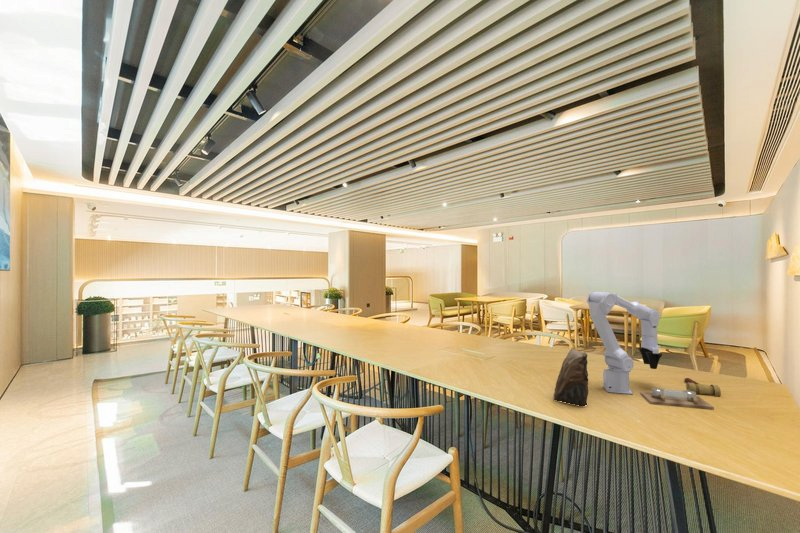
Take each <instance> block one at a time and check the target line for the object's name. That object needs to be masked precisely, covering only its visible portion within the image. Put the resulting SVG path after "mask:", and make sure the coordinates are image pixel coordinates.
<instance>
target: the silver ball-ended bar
mask: <svg viewBox="0 0 800 533" xmlns="http://www.w3.org/2000/svg"><path fill="white" fill-rule="evenodd" d="M651 393H652V397H653V398H656V399H661V395H663V396H665V399H668V400H679V401H689V402H694V398H696V396H697V393H696V392H693V391H689V390H687V389H683V390H682V389H674V388H673V389H672V388H671V389H669V388H660V387H652V388H651Z"/></svg>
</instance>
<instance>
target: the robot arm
mask: <svg viewBox="0 0 800 533" xmlns="http://www.w3.org/2000/svg"><path fill="white" fill-rule="evenodd" d="M586 302H587V304H588V307H589V308H588V309H589V316H590V319H591V321H592V323H593V326H594V327H595V329H596V331H597V334H598V336H599V338H600V340H601V342H602V344H603V346H604V348H605V350H604V352H603V355H604V361H605V362H604V363H605V364H606V365H607V368H604V369H603V371H602V373H603V374H602V375H603V377H602V378H603V382H602V383H603V388H604V389H605V391H606V392H608V393H616V394H626V395H627V394H629V395H633V394H634V393H633V391H632V390H631V388H630V372H631V371H632V370H633V368H634V365H635V364H634V360H633V358H632V357H630V356H629V354H628V352H626V350H624V349H623V348H621V345H620V344H619V342H618V340H617V338H616V337H617V336H616V335H615V333H614V331H613V329H612V327H611V324H610V322H609V321H608V318H607V315H608V314H609V313H610V312H611V311H612V309H613V308H614V306H618V307H620V308H623V309H625V310H626V312H627V313H628V314H630V315H631V316H634V317H637V319H638V320H639V321H640V325H641V326H640V327H641V328H640V329H641V331H640V332H641V342H640V344H641V346H640V347H637V349H638V351H639V353H640V354H641V358H642V362H643V364H644V365H649V368H650V369H652V370H656V369H657V368H658V366H659V365H658V364H659V363H660V362H659V361H660V360H661V357H662V356H663V353H661V352H660V351H659V350H660V349H661V348H662V347H661V345H658V326H659V321H660V319H661V315H660V312H659V311H658V310H657V309H655V308H649V306H648V305H644V304H641V301H628V300H627V299H626V298H623V297H621V296H619V295H618V294H617V293H614V292H610V291H609V292H608V291H605V292H604V291H595V290H593V291H590V292H589V294H588V296H587V299H586Z"/></svg>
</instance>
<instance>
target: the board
mask: <svg viewBox="0 0 800 533" xmlns="http://www.w3.org/2000/svg"><path fill="white" fill-rule="evenodd" d="M639 394H640V395H641V396H642V397H643V398H644V399H645V400H646V402H647V403H648V404H650V405H660V406H671V407H682V408H692V409H702V410H704V409H705V410H711V411H712V410H713V411H714V410H715V407H714V406H713V405H711V404H710V403H709V402H708V401H706V400H704V399H703V398H701V397H700V396H697V395H696V398H694V402H689V401H679V400H668V399H665V396H663V395H661V399H656V398H653V397H652V392H647V391H640V393H639Z"/></svg>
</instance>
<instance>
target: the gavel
mask: <svg viewBox="0 0 800 533" xmlns="http://www.w3.org/2000/svg"><path fill="white" fill-rule="evenodd" d="M684 382H685V383H686V390H689V391H693V392H696V395H706V396H713V395H714V397H720V396H721V394H722V390H721V387H720V386H719V385H718V384H710V385H709V384H700V383H698V382H697V381H695V380H693V379H691V378H689V377H686V378H684Z"/></svg>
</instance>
